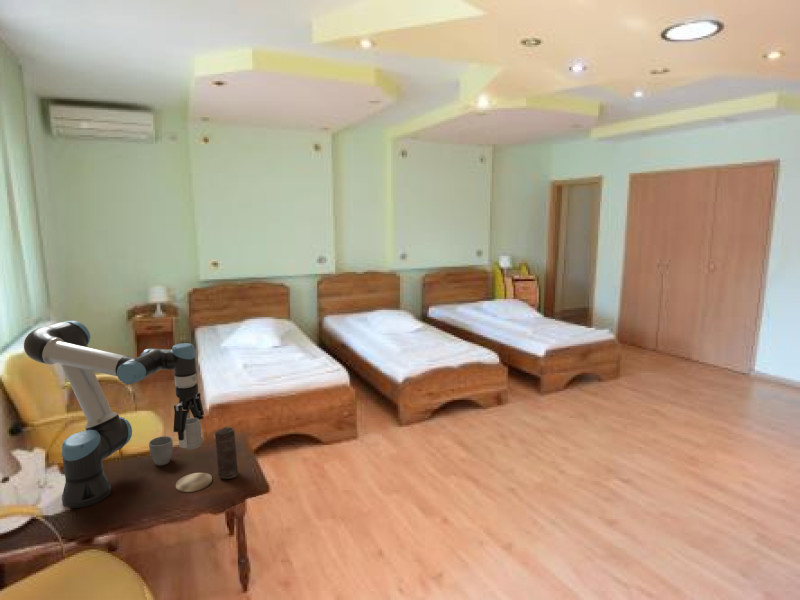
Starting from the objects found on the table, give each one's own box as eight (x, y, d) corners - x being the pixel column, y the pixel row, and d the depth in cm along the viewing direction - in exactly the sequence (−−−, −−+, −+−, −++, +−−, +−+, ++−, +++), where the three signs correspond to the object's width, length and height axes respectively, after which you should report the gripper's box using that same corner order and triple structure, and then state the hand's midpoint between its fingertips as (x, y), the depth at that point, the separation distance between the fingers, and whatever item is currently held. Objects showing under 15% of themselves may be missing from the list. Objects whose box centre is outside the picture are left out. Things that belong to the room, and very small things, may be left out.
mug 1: (176, 463, 201) (174, 441, 199) (152, 469, 195) (150, 447, 194) (170, 452, 210) (168, 431, 208) (147, 457, 205) (145, 436, 203)
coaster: (168, 490, 181) (168, 489, 180) (188, 472, 193) (187, 471, 193) (200, 493, 179) (200, 492, 179) (218, 475, 192) (218, 473, 191)
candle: (222, 483, 186) (218, 435, 182) (214, 475, 191) (211, 428, 188) (241, 476, 191) (238, 429, 187) (233, 469, 196) (230, 423, 193)
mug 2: (182, 452, 177) (179, 421, 175) (178, 440, 187) (175, 410, 185) (204, 446, 181) (202, 416, 179) (199, 435, 191) (196, 406, 189)
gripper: (178, 396, 168) (183, 455, 172) (211, 375, 189) (214, 429, 193) (158, 394, 169) (164, 454, 173) (193, 374, 190) (197, 428, 194)
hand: (190, 441), depth 183 cm, fingers closed on mug 2, 9 cm apart
